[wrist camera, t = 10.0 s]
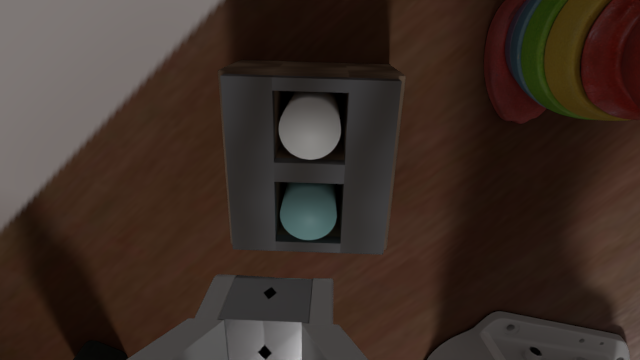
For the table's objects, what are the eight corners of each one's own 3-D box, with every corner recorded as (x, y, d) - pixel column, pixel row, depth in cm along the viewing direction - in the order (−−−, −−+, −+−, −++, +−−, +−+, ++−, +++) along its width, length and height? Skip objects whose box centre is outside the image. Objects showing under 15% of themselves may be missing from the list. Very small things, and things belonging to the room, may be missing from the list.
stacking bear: (502, 130, 33) (679, 242, 16) (454, 22, 29) (614, 23, 13) (632, 62, 30) (995, 111, 14) (595, -65, 27) (1013, -198, 10)
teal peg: (335, 153, 33) (337, 190, 26) (334, 194, 35) (335, 241, 27) (290, 151, 33) (279, 188, 26) (290, 192, 35) (280, 239, 27)
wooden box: (389, 64, 31) (408, 78, 23) (375, 207, 36) (388, 256, 28) (241, 59, 31) (213, 72, 23) (248, 203, 36) (227, 251, 28)
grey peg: (339, 81, 31) (342, 99, 23) (337, 128, 32) (339, 160, 25) (290, 79, 31) (278, 98, 24) (290, 127, 32) (279, 158, 25)
